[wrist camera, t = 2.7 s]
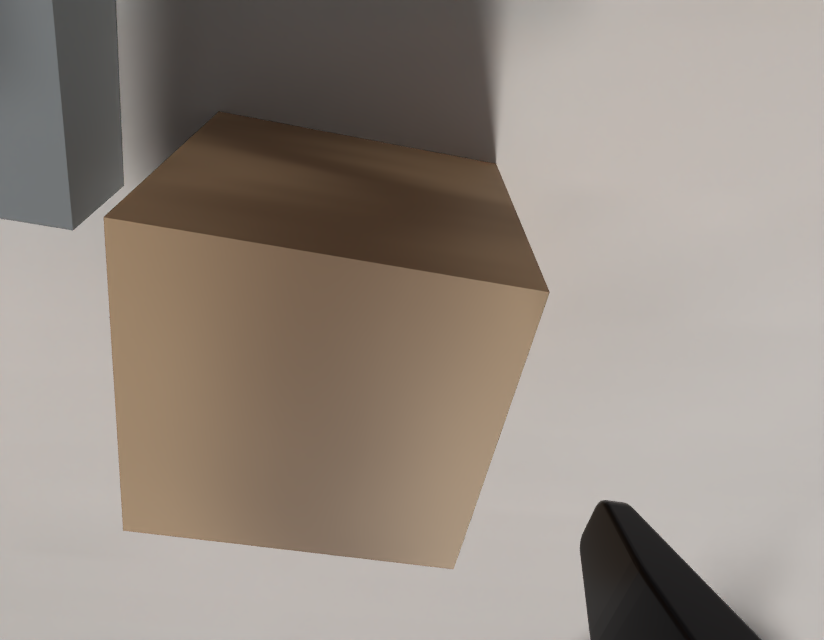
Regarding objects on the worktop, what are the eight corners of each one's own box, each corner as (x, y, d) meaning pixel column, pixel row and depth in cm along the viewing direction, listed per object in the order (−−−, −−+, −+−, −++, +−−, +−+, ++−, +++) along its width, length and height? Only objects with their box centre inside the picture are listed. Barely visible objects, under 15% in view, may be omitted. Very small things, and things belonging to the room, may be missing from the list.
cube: (211, 344, 16) (123, 530, 11) (219, 109, 13) (103, 216, 8) (437, 378, 17) (453, 568, 12) (495, 162, 14) (549, 291, 9)
